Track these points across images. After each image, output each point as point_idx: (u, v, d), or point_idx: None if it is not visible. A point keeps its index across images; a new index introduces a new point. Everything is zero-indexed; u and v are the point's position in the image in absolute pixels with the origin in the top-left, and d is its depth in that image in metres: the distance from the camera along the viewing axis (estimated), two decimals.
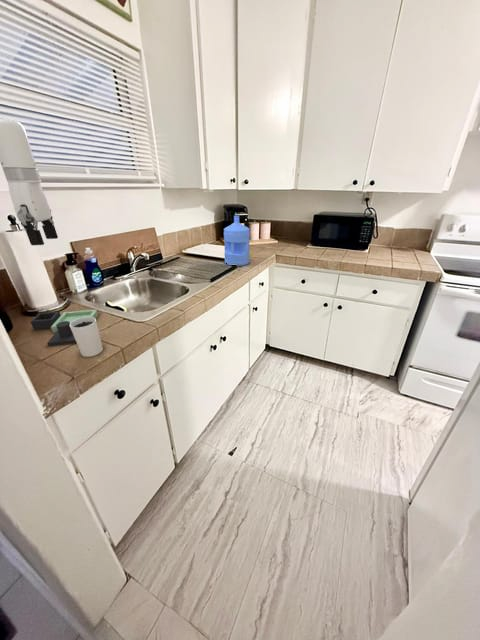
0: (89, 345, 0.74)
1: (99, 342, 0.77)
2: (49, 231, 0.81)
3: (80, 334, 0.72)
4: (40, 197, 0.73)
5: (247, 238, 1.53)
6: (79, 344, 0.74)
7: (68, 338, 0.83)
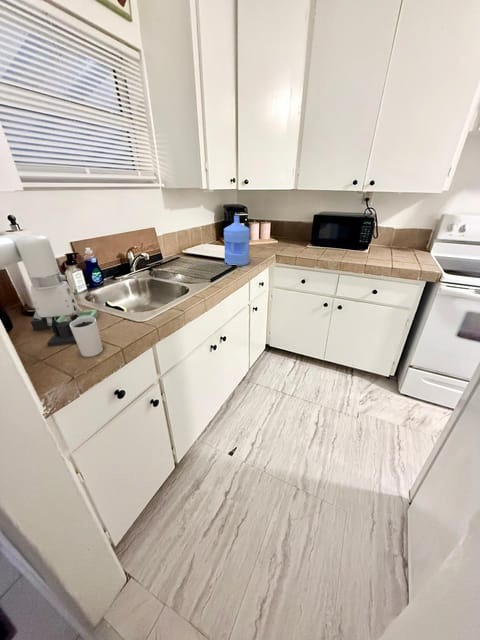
0: (89, 345, 0.74)
1: (99, 342, 0.77)
2: None
3: (80, 334, 0.72)
4: (49, 299, 0.76)
5: (247, 238, 1.53)
6: (79, 344, 0.74)
7: (68, 338, 0.83)
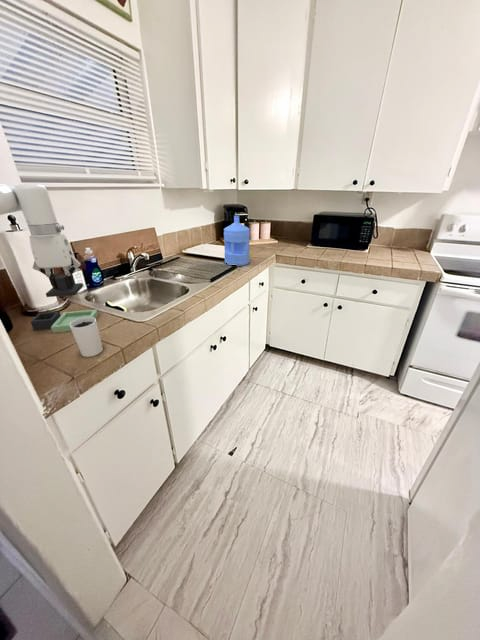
0: (89, 345, 0.74)
1: (99, 342, 0.77)
2: None
3: (80, 334, 0.72)
4: (47, 248, 0.79)
5: (247, 238, 1.53)
6: (79, 344, 0.74)
7: (66, 290, 0.85)
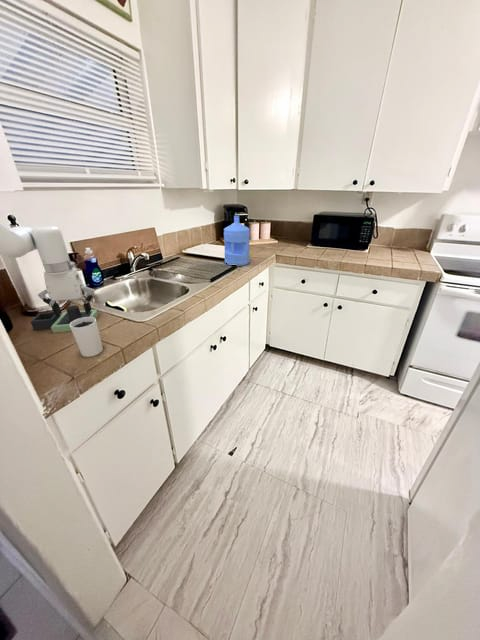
0: (89, 345, 0.74)
1: (99, 342, 0.77)
2: None
3: (80, 334, 0.72)
4: (60, 284, 0.85)
5: (247, 238, 1.53)
6: (79, 344, 0.74)
7: None
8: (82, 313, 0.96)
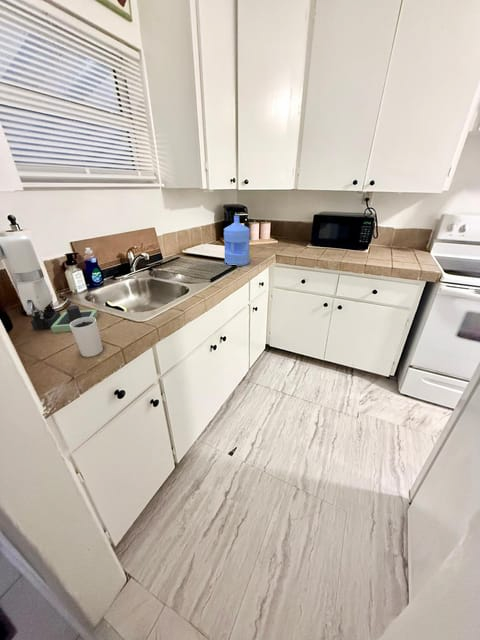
0: (89, 345, 0.74)
1: (99, 342, 0.77)
2: None
3: (80, 334, 0.72)
4: (43, 289, 0.87)
5: (247, 238, 1.53)
6: (79, 344, 0.74)
7: None
8: (82, 313, 0.96)
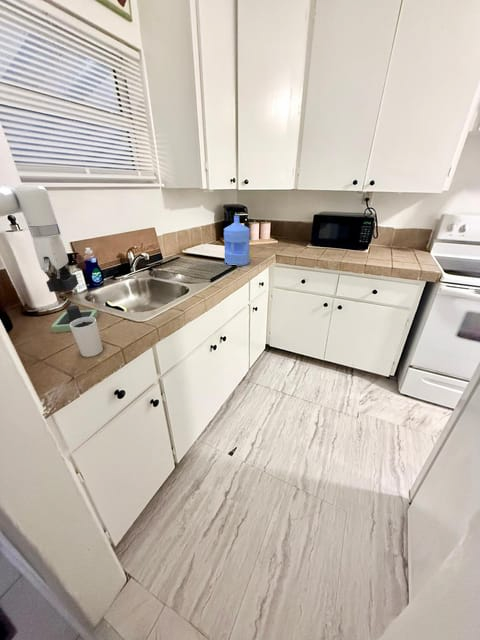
0: (89, 345, 0.74)
1: (99, 342, 0.77)
2: None
3: (80, 334, 0.72)
4: (59, 247, 0.82)
5: (247, 238, 1.53)
6: (79, 344, 0.74)
7: None
8: (82, 313, 0.96)
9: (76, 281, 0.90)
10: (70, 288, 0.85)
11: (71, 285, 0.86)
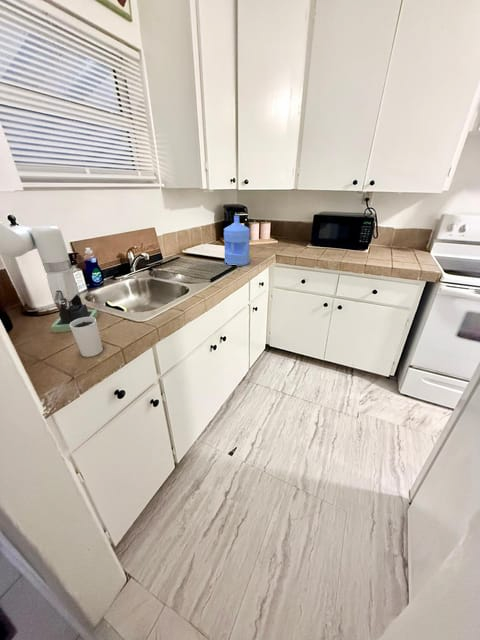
0: (89, 345, 0.74)
1: (99, 342, 0.77)
2: (76, 302, 0.95)
3: (80, 334, 0.72)
4: (71, 280, 0.87)
5: (247, 238, 1.53)
6: (79, 344, 0.74)
7: None
8: None
9: (86, 311, 0.95)
10: None
11: (82, 316, 0.91)
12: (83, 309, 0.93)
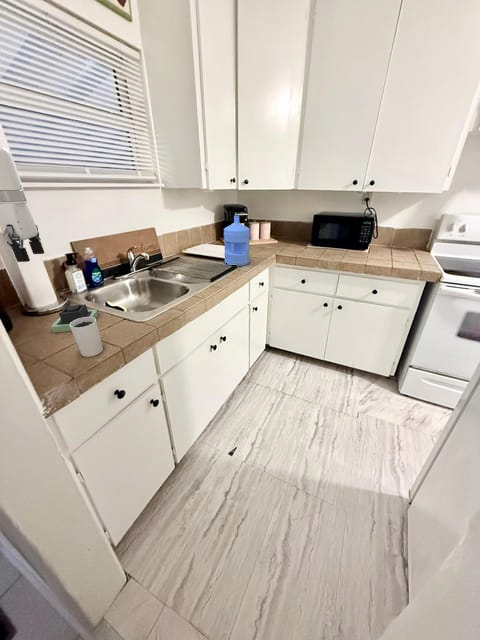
0: (89, 345, 0.74)
1: (99, 342, 0.77)
2: (36, 247, 0.85)
3: (80, 334, 0.72)
4: (26, 216, 0.77)
5: (247, 238, 1.53)
6: (79, 344, 0.74)
7: None
8: None
9: (86, 311, 0.95)
10: None
11: (82, 316, 0.91)
12: (83, 309, 0.93)
